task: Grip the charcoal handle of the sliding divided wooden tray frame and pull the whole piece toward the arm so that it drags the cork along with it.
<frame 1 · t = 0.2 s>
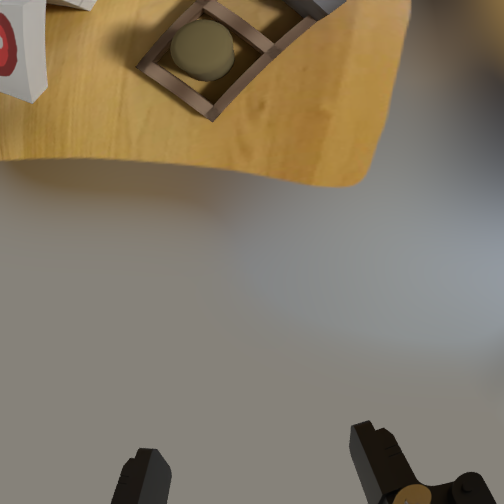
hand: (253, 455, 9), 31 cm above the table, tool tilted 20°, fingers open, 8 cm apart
divided wooden tray frame: (235, 25, 21), point 3 cm above the table, slide at 0.0 cm
cork: (208, 57, 26), resting in divided wooden tray frame
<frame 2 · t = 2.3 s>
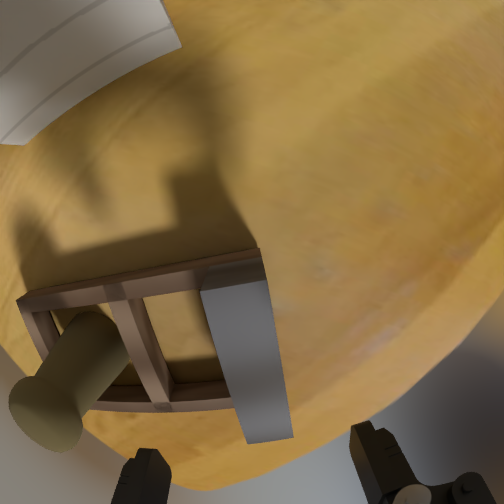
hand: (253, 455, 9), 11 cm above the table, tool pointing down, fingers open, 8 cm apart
divided wooden tray frame: (129, 364, 17), point 3 cm above the table, slide at 0.0 cm
pizza boxes: (30, 69, 14), on the table
cork: (99, 342, 20), resting in divided wooden tray frame
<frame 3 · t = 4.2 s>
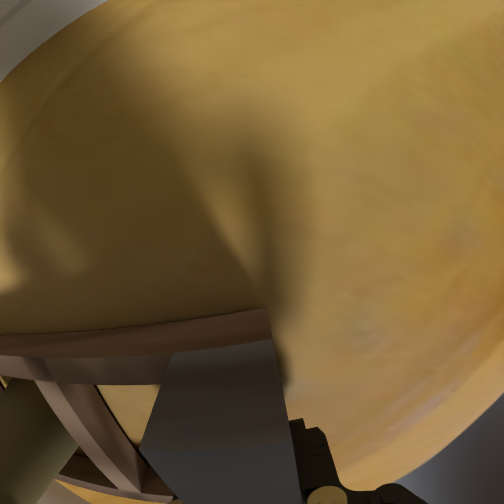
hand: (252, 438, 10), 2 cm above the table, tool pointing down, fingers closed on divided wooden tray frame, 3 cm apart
divided wooden tray frame: (78, 458, 8), point 3 cm above the table, slide at 0.0 cm, touching gripper
cork: (48, 407, 12), resting in divided wooden tray frame
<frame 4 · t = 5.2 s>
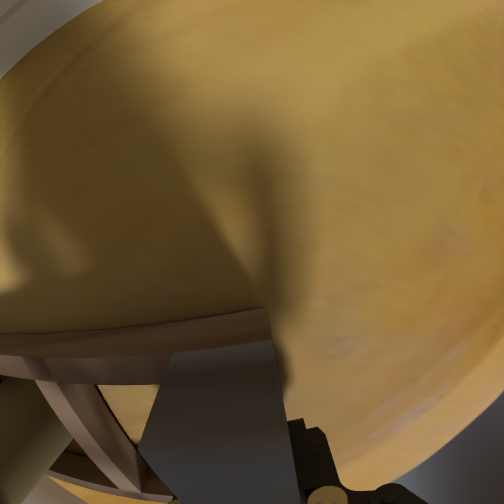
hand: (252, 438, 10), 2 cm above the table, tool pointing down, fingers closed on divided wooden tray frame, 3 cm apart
divided wooden tray frame: (78, 458, 8), point 3 cm above the table, slide at 1.2 cm, touching gripper, cork
cork: (40, 405, 12), resting in divided wooden tray frame
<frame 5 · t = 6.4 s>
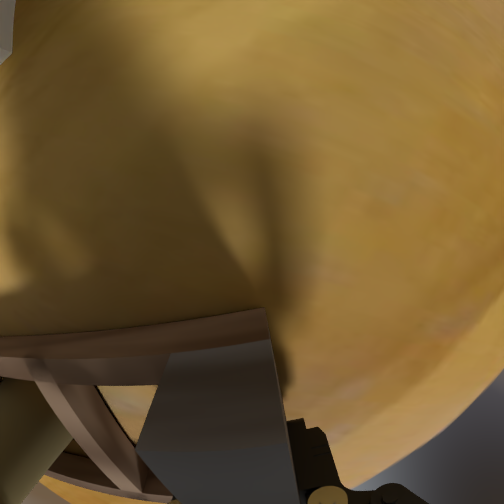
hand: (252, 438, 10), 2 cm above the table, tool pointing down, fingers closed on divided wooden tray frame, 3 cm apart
divided wooden tray frame: (79, 458, 8), point 3 cm above the table, slide at 7.6 cm, touching gripper, cork
cork: (39, 405, 12), resting in divided wooden tray frame
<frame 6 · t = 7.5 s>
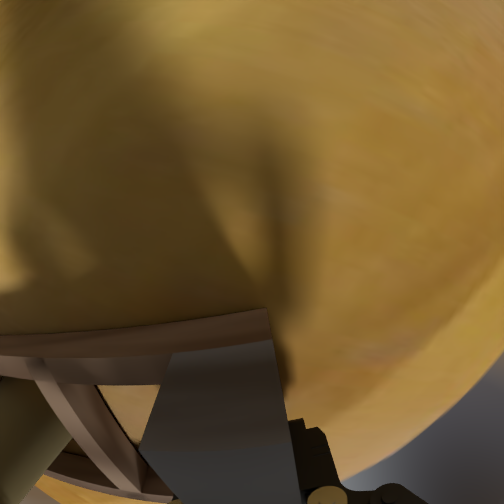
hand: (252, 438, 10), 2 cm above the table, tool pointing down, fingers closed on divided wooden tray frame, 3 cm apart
divided wooden tray frame: (78, 458, 8), point 3 cm above the table, slide at 11.8 cm, touching gripper, cork
cork: (39, 405, 12), resting in divided wooden tray frame
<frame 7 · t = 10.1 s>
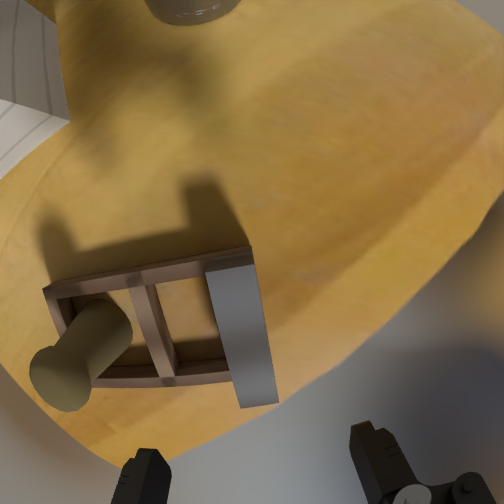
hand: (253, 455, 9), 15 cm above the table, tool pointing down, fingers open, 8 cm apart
divided wooden tray frame: (143, 340, 21), point 3 cm above the table, slide at 12.0 cm
cork: (106, 326, 24), resting in divided wooden tray frame
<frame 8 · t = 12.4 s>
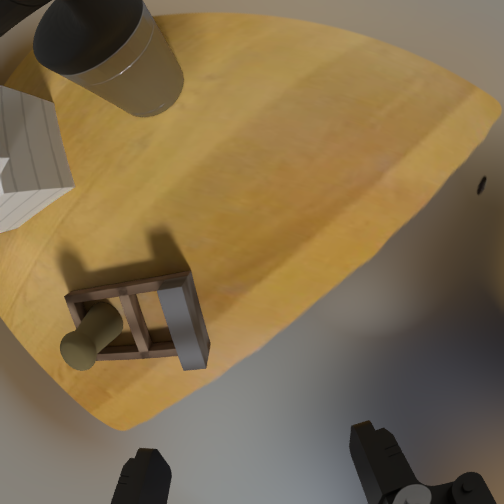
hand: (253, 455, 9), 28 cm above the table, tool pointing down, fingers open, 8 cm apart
divided wooden tray frame: (128, 328, 34), point 3 cm above the table, slide at 12.0 cm
pizza boxes: (13, 184, 32), on the table
cork: (106, 319, 38), resting in divided wooden tray frame
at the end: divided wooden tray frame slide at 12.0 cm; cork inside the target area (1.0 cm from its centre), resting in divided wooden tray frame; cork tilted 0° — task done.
